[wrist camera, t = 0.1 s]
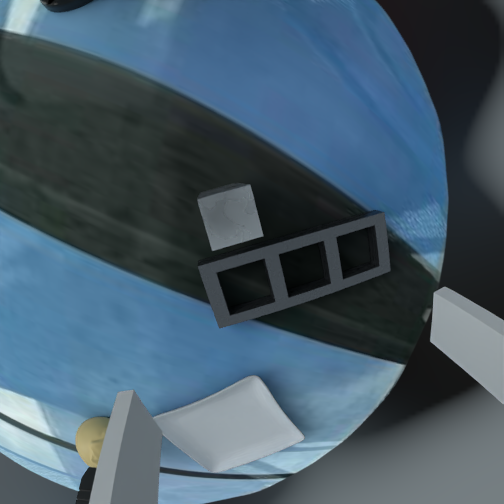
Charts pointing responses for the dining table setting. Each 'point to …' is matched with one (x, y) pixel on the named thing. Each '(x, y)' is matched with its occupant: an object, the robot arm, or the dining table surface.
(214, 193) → the grey upright post
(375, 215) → the rack rail
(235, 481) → the dining table surface
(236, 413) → the salad plate
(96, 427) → the yellow round lump
